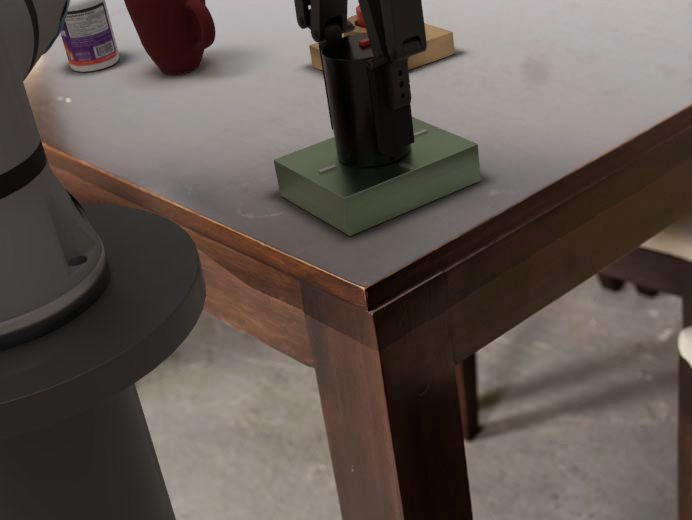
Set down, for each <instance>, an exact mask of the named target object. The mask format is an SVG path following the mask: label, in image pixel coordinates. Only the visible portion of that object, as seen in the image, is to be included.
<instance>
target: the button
mask: <svg viewBox="0 0 692 520" xmlns="http://www.w3.org/2000/svg"><path fill="white" fill-rule="evenodd" d="M355 15H357V22H358V26H359V27H362V28H366V27H365V24H364V20H363V16H362V13H361V9H360V6H359V5H357V6H356V7H355Z"/></svg>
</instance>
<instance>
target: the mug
mask: <svg viewBox="0 0 692 520" xmlns="http://www.w3.org/2000/svg"><path fill="white" fill-rule="evenodd" d="M123 2H124V5H125V8H126V11H127V12H128V16H129V18H130V20H131V22H132V24H133V26H134V29H135V31H136V34H137V36H138V38H139V40H140V44H141V45H142V47H143V49H144V51H145V53H146V54H147V55H148V57H149V58H150V59H151V60H152V62H153V63H154V65H156V66H157V68H158V69H159V70H160V71H161V72H162V73H163V74H166V75H172V76H173V75H182V74H187V73H190V72H193V71H195V70H197V69H198V68H199V67H201V63H202V61H203V60H202V59H203V56H204V53H205V50H206V49H208V48H210V47H211V46H212V45H213V44H214V42H215V39H216V25H215V22H214V17H213V16H212V14H211V12H210V10H209V8H208V6H206V0H123Z"/></svg>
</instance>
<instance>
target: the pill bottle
mask: <svg viewBox="0 0 692 520" xmlns="http://www.w3.org/2000/svg"><path fill="white" fill-rule="evenodd" d="M60 36H61V37H60V38H61V40H62V44H63V47H64V50H65V55H66V57H67V61H68V63H69V66H70V69H72V70H73V71H75V72H79V73H80V72H82V73H83V72H84V73H87V72H93V71H99V70H103V69H107V68H109V67H111V66H114V65H115V64H116V63H117V62H118V61H119V60H120V53H119V49H118V45H117V41H116V38H115V33H114V30H113V26H112V22H111V18H110V15H109V10H108V7H107V3H106V0H70V4H69V8H68V11H67V16H66V19H65V22H64V25H63V28H62V30H61V32H60Z"/></svg>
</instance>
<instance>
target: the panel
mask: <svg viewBox="0 0 692 520" xmlns="http://www.w3.org/2000/svg"><path fill="white" fill-rule="evenodd" d="M412 123H413V132H414V141H415V142H414V143H412V144H411V150H410V152H409V153H408V154H407V155H406V156H404V157H403V158H401V159H399V160H397V161H394V162H391V163H388V164H384V165H379V166H370V167H358V166H351V165H347V164H345V163H343V162H341V161H340V160H339V159H338V157H337V151H336V144H335V138H334V136H333V137H331V138H327V139H325V140H322V141H320V142H317V143H314V144H312V145H309V146H306V147H304V148H301V149H298V150H295V151H293V152H290V153H288V154H285V155H283V156H279V157H277V158H275V159H273V165H274V170H275V176H276V180H277V186H278V191H279V195H280V196H281V197H282V198H284V199H286V200H287V201H289V202H291V203H293V204H294V205H295V206H297V207H299V208H301V209H302V210H304V211H307V212H308V213H310V214H311V215H313V216H314V217H317V218H318V219H320V220H322V221H323V222H325V223H327V224H328V225H330V226H331V227H333V228H335V229H337V230H338V231H340V232H342V233H344V234H346V235H347V236H349V237H352V236H355V235H356V234H359V233H361V232H364V231H366V230H368V229H371V228H373V227H375V226H377V225H379V224H382V223H385V222H387V221H389V220H392V219H393V218H396V217H399V216H401V215H403V214H406V213H408V212H410V211H412V210H413V211H414V210H415V209H418V208H420V207H422V206H425V205H427V204H429V203H431V202H434V201H437V200H439V199H441V198H444V197H446V196H448V195H451V194H453V193H455V192H457V191H460V190H462V189H464V188H467V187H470V186H472V185H475V184H477V183H480V182H481V180H482V179H481V166H480V153H479V144H478V143H476V142H474V141H472V140H469V139H467V138H465V137H462V136H460V135H457V134H454V133H453V132H450V131H447V130H445V129H443V128H440V127H438V126H436V125H433V124H431V123H428V122H426V121H424V120H421V119H419V118H416V117H414V116H412Z"/></svg>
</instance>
